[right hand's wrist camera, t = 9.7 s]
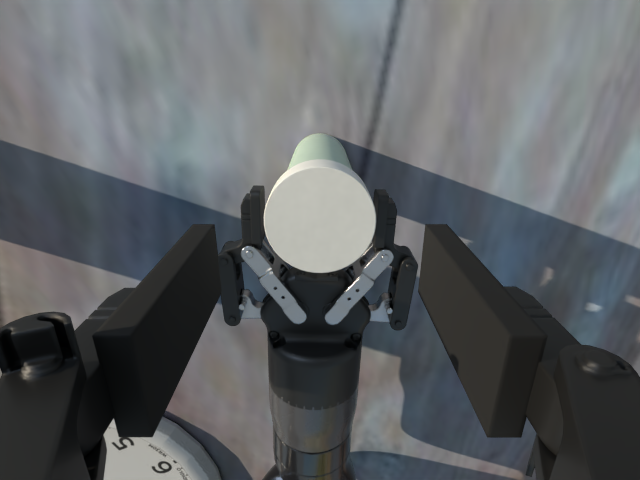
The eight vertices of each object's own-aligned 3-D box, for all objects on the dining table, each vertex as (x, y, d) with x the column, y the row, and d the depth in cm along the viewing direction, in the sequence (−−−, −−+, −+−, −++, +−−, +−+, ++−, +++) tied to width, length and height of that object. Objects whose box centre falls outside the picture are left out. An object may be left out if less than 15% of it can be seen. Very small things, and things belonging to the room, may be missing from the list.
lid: (364, 151, 18) (369, 158, 17) (376, 249, 20) (381, 265, 19) (258, 167, 19) (252, 176, 17) (279, 263, 21) (276, 280, 19)
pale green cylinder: (342, 129, 31) (361, 165, 17) (350, 182, 33) (372, 255, 19) (288, 138, 32) (263, 180, 18) (298, 190, 33) (282, 268, 19)
